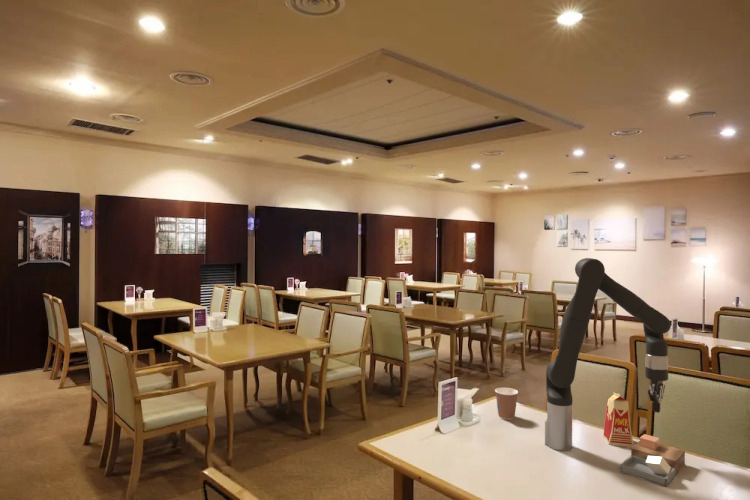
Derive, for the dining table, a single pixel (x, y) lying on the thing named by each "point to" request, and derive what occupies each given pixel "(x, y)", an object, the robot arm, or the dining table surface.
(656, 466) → the tile cream
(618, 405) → the milk carton
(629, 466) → the tray
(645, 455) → the bronze square platform
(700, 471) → the dining table surface
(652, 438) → the salmon square block
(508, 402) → the coffee cup
